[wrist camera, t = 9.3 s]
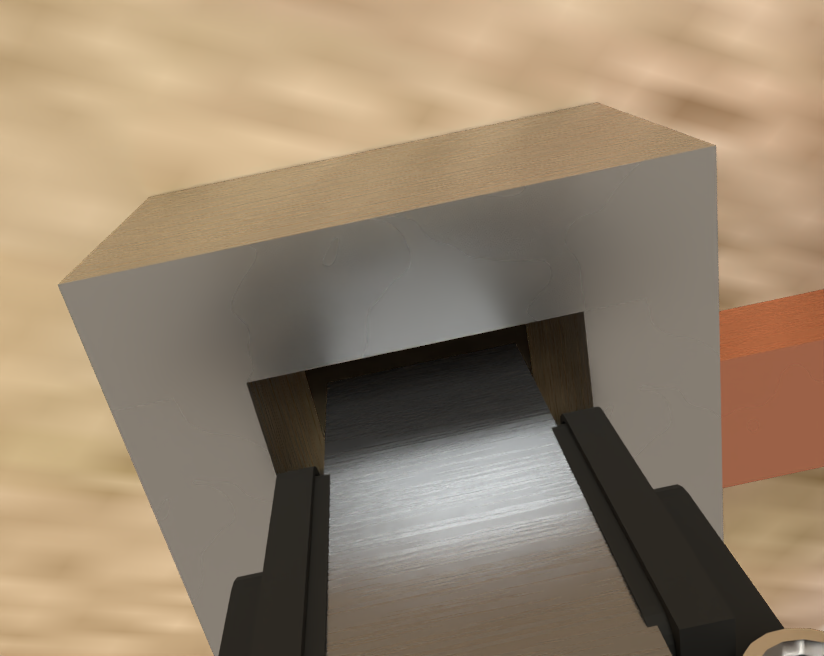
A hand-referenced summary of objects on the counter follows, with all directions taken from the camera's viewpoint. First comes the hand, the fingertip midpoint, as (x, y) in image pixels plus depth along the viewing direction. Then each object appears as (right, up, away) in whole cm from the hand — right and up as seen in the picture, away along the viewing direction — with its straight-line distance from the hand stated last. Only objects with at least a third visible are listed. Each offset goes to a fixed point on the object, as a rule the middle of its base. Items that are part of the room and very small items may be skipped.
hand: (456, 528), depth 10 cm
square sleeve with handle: (+3, +3, +6) cm, 7 cm away
